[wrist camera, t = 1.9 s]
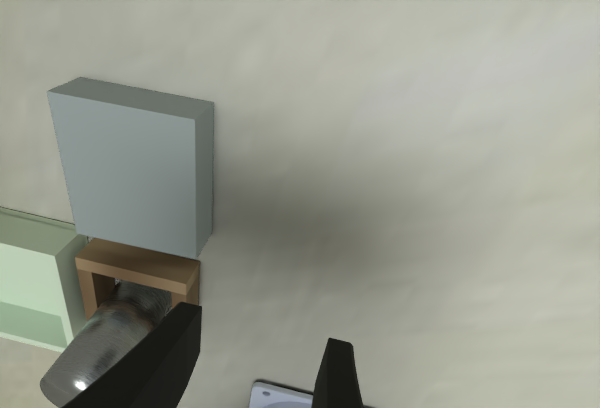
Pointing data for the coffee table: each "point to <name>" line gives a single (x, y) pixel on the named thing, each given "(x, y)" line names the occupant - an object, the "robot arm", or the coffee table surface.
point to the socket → (133, 272)
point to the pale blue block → (136, 164)
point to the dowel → (105, 339)
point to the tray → (39, 280)
